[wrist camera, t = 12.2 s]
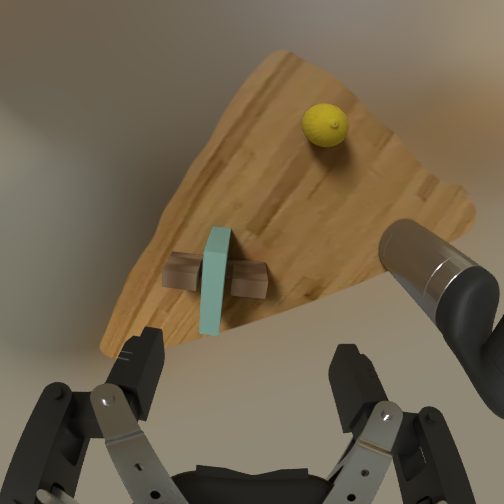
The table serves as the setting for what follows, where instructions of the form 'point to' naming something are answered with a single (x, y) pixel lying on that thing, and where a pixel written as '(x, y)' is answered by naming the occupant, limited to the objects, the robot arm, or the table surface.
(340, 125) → the lemon
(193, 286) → the brown wooden u-shaped block
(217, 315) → the teal arch block
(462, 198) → the table surface
